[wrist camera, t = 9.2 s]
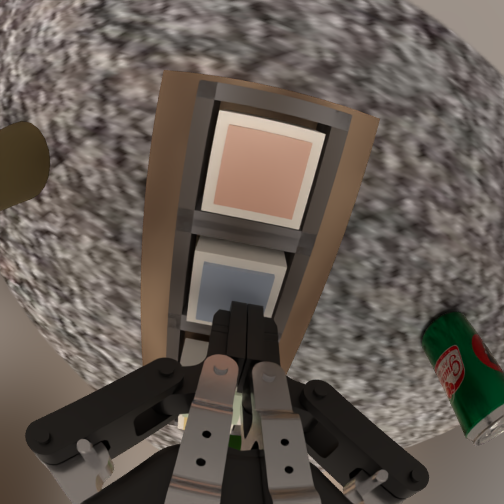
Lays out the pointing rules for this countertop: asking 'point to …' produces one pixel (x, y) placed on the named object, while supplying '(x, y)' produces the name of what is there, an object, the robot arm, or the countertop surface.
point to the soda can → (467, 375)
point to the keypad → (234, 228)
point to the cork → (22, 163)
